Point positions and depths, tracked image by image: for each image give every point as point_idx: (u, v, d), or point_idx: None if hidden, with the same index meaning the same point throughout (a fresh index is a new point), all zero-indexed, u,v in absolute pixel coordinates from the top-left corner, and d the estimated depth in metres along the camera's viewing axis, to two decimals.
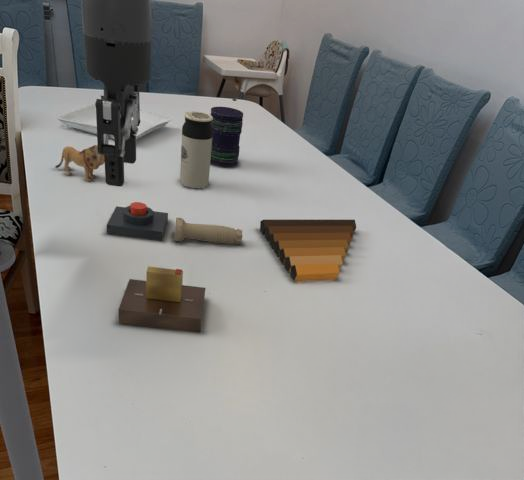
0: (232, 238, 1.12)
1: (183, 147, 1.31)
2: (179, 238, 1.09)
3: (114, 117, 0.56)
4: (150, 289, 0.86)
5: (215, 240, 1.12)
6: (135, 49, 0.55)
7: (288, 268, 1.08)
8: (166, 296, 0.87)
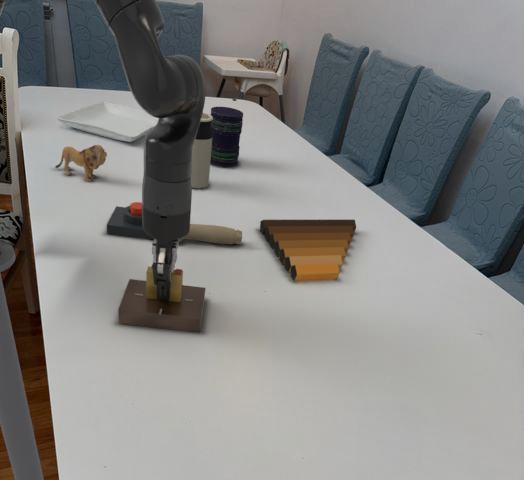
0: (232, 240, 1.12)
1: None
2: (179, 240, 1.09)
3: (165, 274, 0.78)
4: (150, 289, 0.86)
5: (214, 241, 1.12)
6: (180, 217, 0.76)
7: (288, 268, 1.08)
8: None
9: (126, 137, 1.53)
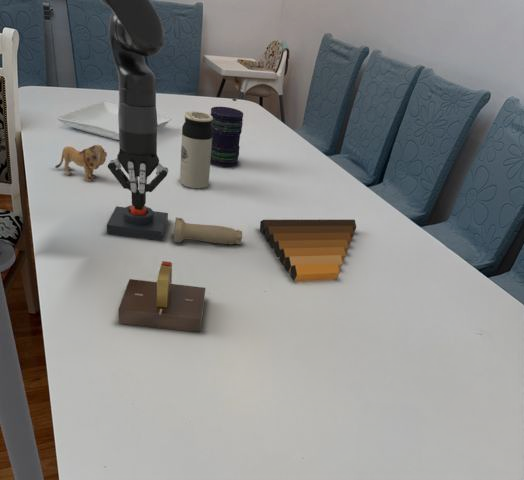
0: (232, 240, 1.12)
1: (183, 147, 1.31)
2: (179, 240, 1.09)
3: None
4: (168, 295, 0.85)
5: (214, 241, 1.12)
6: None
7: (288, 268, 1.08)
8: (169, 291, 0.88)
9: None
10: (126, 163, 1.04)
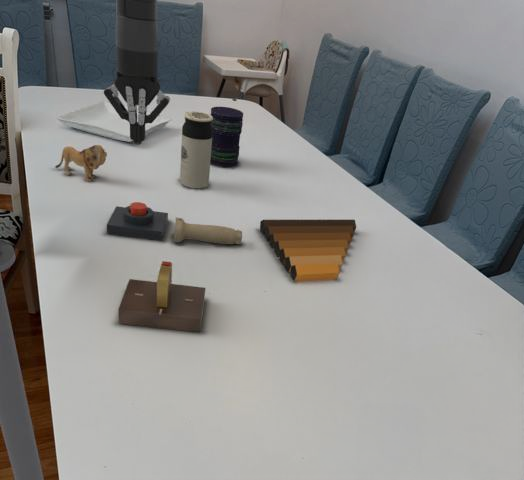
0: (232, 240, 1.12)
1: (183, 147, 1.31)
2: (179, 240, 1.09)
3: None
4: (168, 295, 0.85)
5: (214, 241, 1.12)
6: None
7: (288, 268, 1.08)
8: (169, 291, 0.88)
9: (126, 137, 1.53)
10: (124, 89, 0.95)
